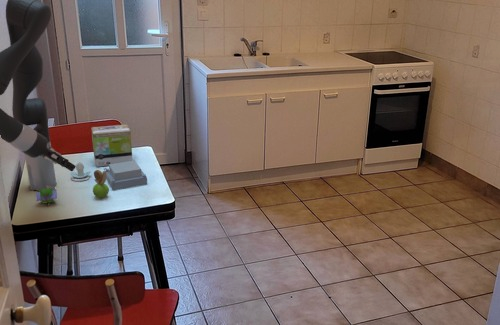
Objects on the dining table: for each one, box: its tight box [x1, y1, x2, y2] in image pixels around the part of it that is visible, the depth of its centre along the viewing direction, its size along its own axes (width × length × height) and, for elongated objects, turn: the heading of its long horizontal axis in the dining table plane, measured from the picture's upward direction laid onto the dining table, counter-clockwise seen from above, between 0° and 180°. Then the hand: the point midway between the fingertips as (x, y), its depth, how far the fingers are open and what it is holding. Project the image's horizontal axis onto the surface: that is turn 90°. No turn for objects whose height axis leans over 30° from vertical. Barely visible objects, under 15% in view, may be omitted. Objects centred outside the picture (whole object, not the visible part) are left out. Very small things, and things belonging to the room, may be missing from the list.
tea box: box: [90, 124, 133, 168], centre depth 205 cm, size 15×10×15 cm, turn 111°
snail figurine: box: [92, 167, 110, 199], centre depth 172 cm, size 5×6×12 cm
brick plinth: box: [105, 160, 148, 191], centre depth 187 cm, size 13×13×6 cm
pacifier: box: [70, 162, 91, 182], centre depth 189 cm, size 7×6×6 cm
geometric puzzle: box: [35, 185, 58, 206], centre depth 168 cm, size 7×7×8 cm
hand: (67, 165), depth 161 cm, fingers open, 8 cm apart
